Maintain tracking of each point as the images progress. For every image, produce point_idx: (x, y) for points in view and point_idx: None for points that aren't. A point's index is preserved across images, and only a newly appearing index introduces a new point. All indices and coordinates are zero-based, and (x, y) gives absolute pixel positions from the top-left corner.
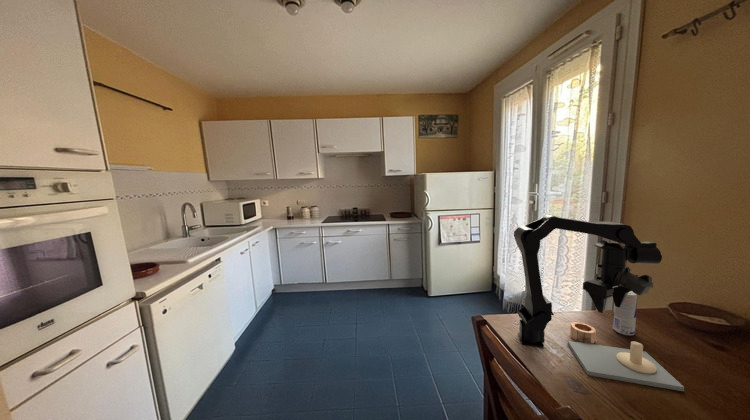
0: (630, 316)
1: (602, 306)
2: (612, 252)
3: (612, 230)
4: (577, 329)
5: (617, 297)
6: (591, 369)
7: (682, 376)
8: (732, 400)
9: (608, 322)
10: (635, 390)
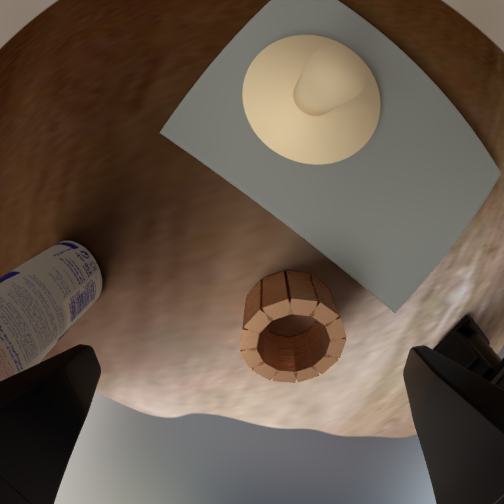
0: (27, 283)
1: (490, 389)
2: None
3: None
4: (341, 341)
5: (45, 433)
6: (488, 170)
7: (195, 17)
8: None
9: (73, 326)
10: (439, 61)
